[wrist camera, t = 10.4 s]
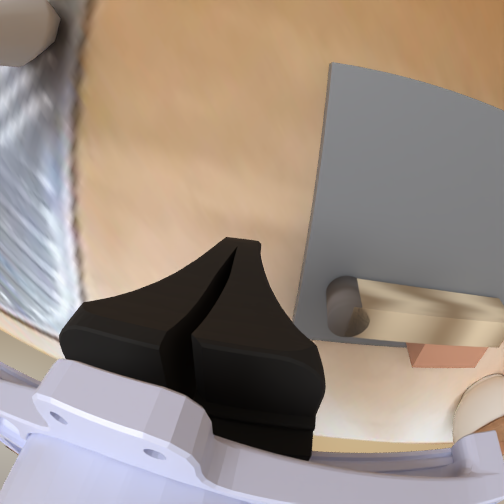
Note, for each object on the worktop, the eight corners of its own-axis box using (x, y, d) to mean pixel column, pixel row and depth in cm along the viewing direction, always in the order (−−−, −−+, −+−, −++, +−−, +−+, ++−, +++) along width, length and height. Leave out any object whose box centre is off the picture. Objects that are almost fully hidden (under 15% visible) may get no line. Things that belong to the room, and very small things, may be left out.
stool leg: (322, 304, 22) (323, 334, 19) (330, 273, 20) (333, 302, 18) (485, 322, 21) (498, 348, 18) (499, 297, 19) (514, 322, 17)
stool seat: (477, 334, 24) (493, 374, 20) (292, 319, 26) (288, 366, 22) (553, 136, 14) (594, 156, 10) (329, 64, 16) (338, 58, 12)
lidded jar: (477, 417, 31) (490, 474, 23) (427, 409, 31) (438, 478, 23) (533, 367, 26) (557, 427, 18) (489, 352, 25) (517, 425, 17)
